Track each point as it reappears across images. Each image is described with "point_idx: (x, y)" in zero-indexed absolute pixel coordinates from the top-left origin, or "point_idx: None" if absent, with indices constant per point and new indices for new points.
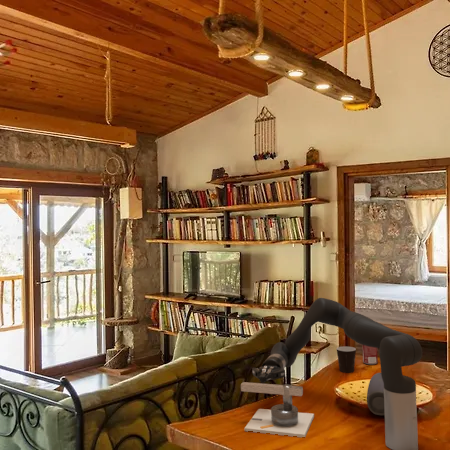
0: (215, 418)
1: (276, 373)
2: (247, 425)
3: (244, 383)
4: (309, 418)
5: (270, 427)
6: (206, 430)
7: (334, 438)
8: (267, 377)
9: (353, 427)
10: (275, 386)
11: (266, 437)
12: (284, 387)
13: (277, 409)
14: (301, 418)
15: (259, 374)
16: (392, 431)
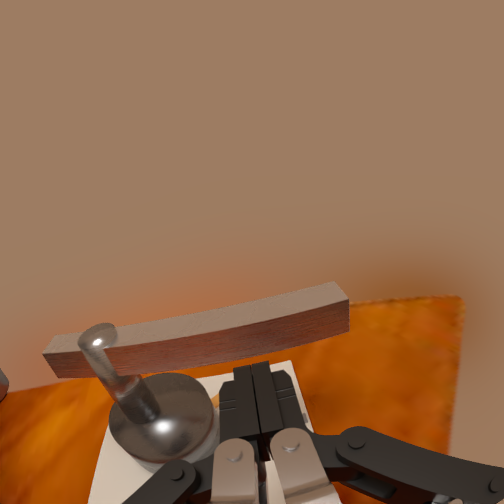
0: (432, 374)
1: (146, 492)
2: (291, 375)
3: (324, 292)
4: (99, 481)
5: (215, 393)
6: (383, 322)
7: (66, 403)
8: (221, 409)
9: (18, 453)
10: (149, 325)
11: (217, 365)
12: (110, 325)
13: (181, 397)
14: (124, 479)
15: (334, 438)
16: None
